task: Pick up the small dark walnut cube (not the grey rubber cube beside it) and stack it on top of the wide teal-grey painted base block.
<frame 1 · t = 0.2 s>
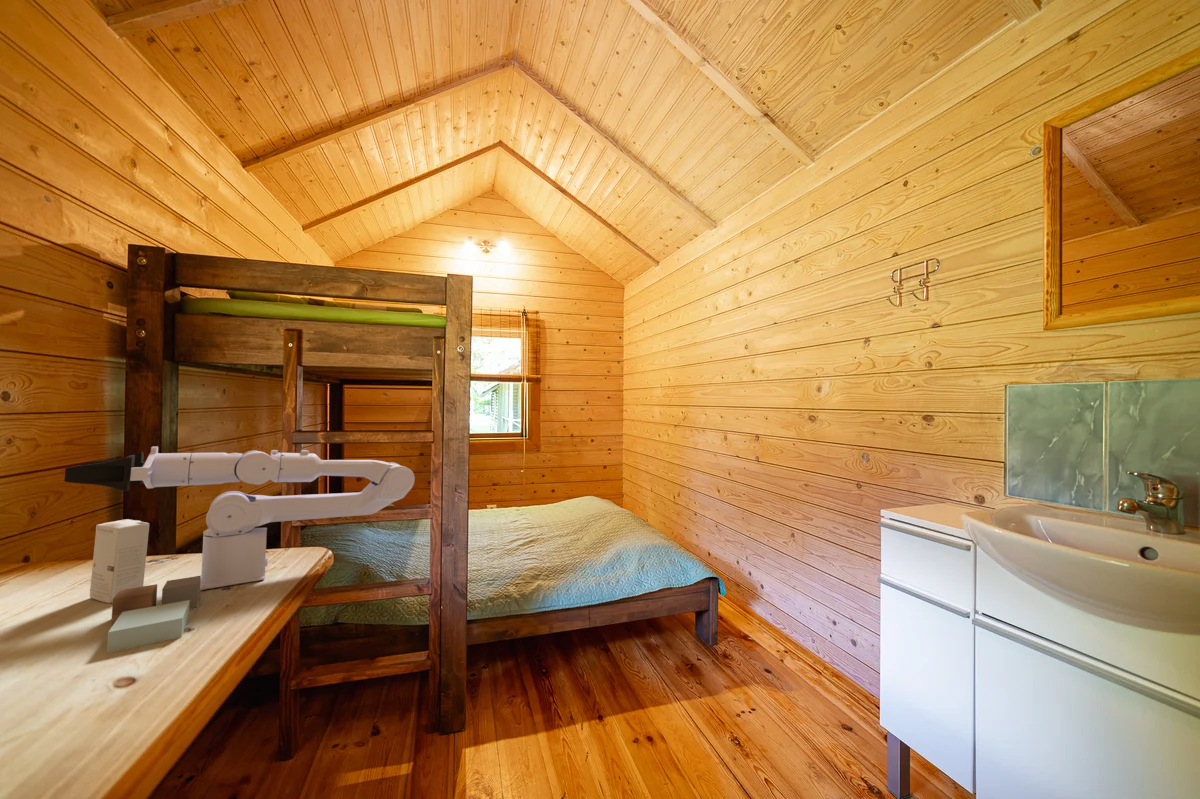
hand: (73, 472, 69), 21 cm above the table, tool horizontal, fingers open, 7 cm apart
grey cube: (181, 607, 70), on the table
skincare box: (118, 597, 73), on the table
walnut cube: (134, 618, 66), on the table
base block: (151, 636, 61), on the table
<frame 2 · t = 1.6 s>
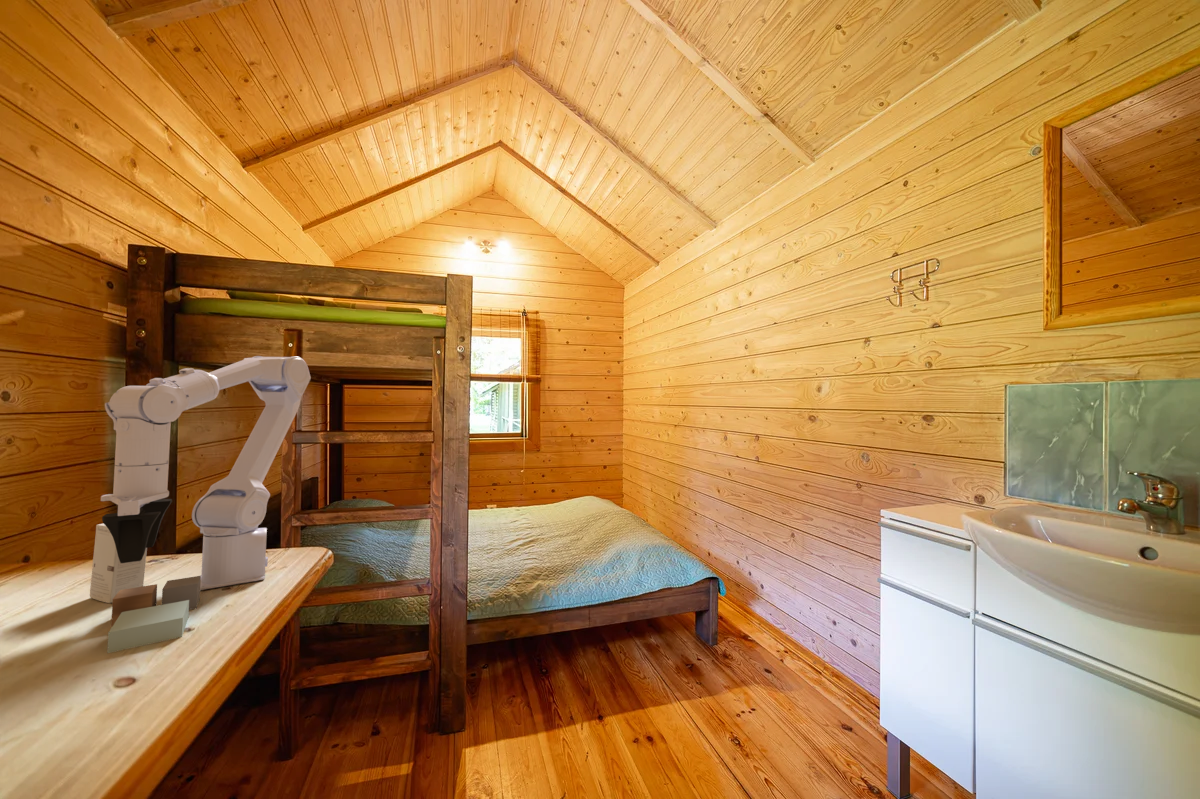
hand: (137, 554, 66), 9 cm above the table, tool pointing down, fingers open, 7 cm apart
nothing on the table moved.
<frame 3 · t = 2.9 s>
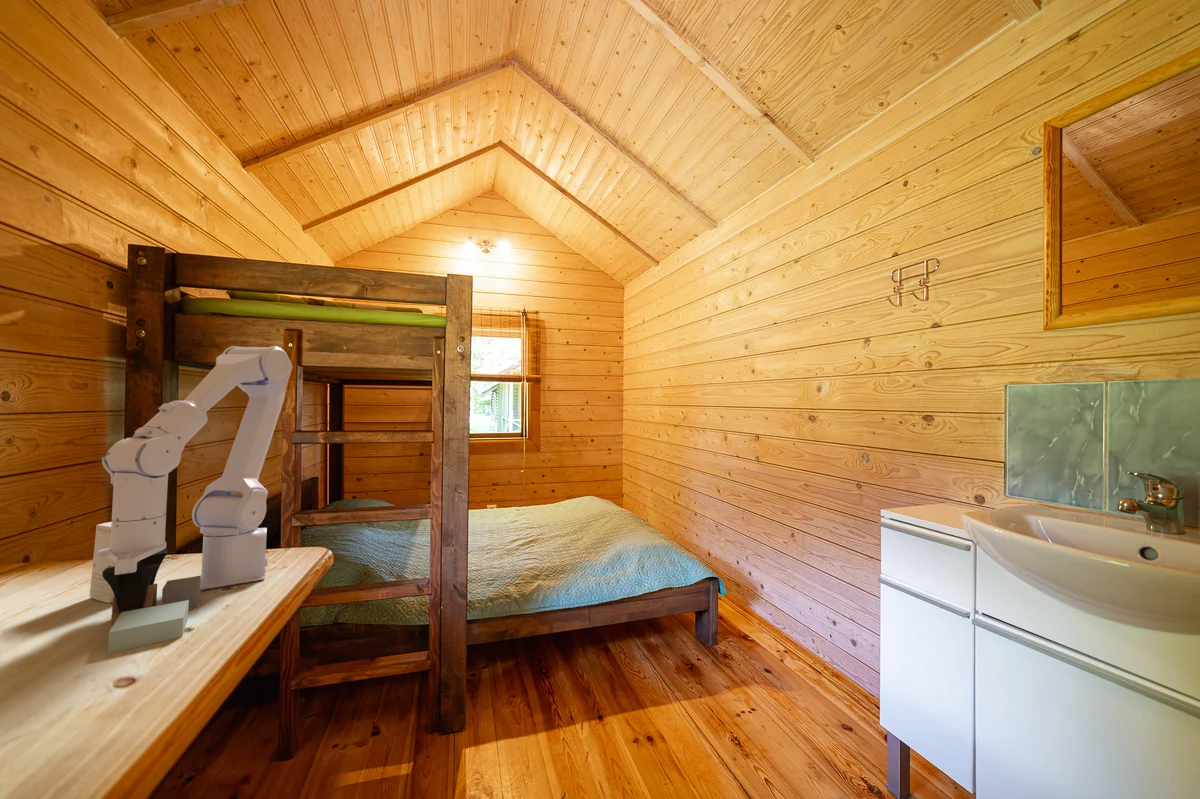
hand: (135, 607, 66), 1 cm above the table, tool pointing down, fingers closed on walnut cube, 4 cm apart
walnut cube: (134, 617, 66), on the table, touching gripper
everything else where it was.
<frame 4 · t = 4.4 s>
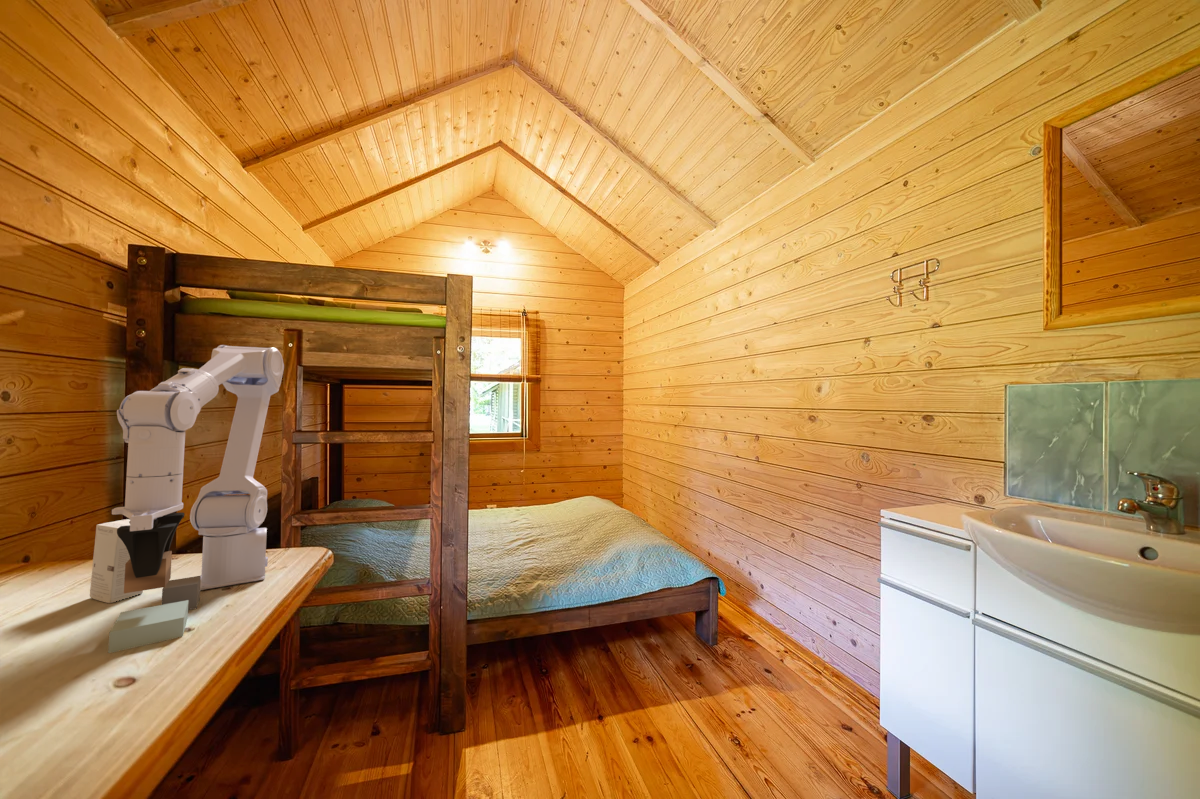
hand: (150, 570, 62), 8 cm above the table, tool pointing down, fingers closed on walnut cube, 4 cm apart
walnut cube: (148, 585, 62), point 6 cm above the table, touching gripper
everything else where it was.
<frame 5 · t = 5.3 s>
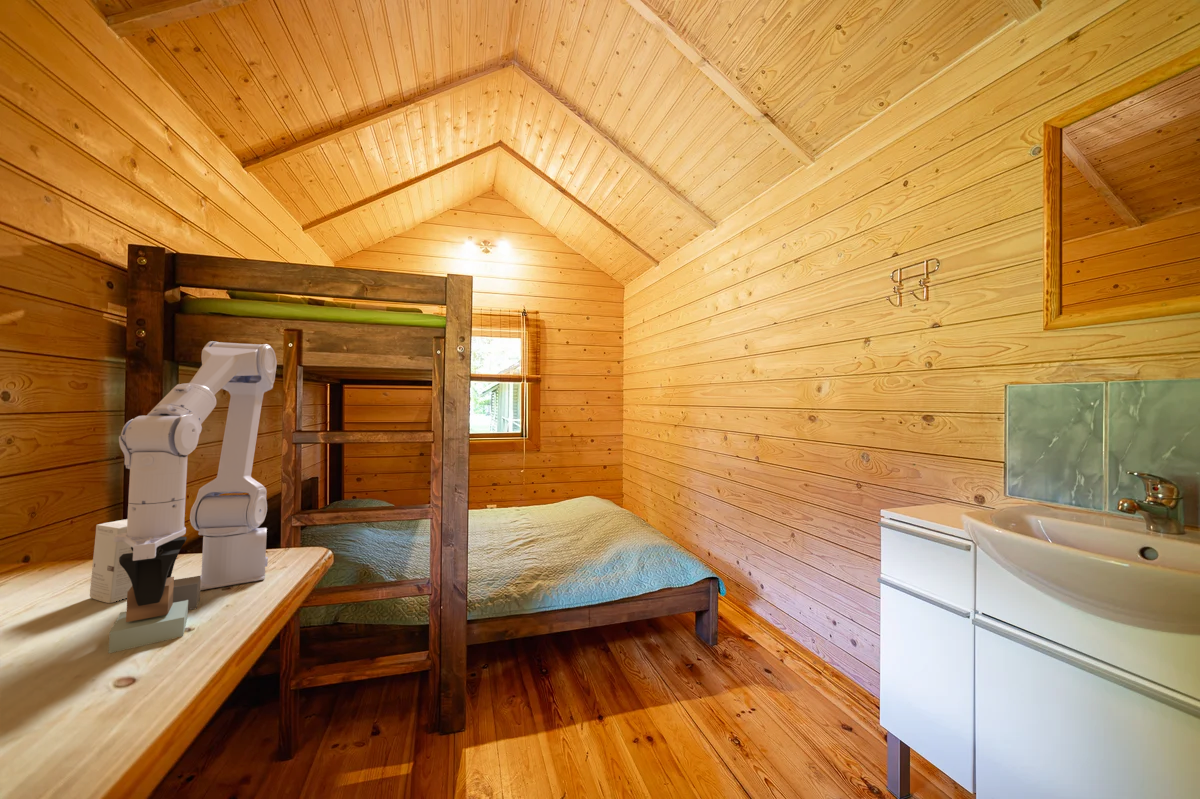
hand: (152, 597, 62), 5 cm above the table, tool pointing down, fingers closed on walnut cube, 4 cm apart
walnut cube: (150, 612, 61), point 3 cm above the table, touching gripper
everything else where it was.
when the fingers open (5 cm above the table, at t = 5.8 s): walnut cube stays where it is, resting on base block.
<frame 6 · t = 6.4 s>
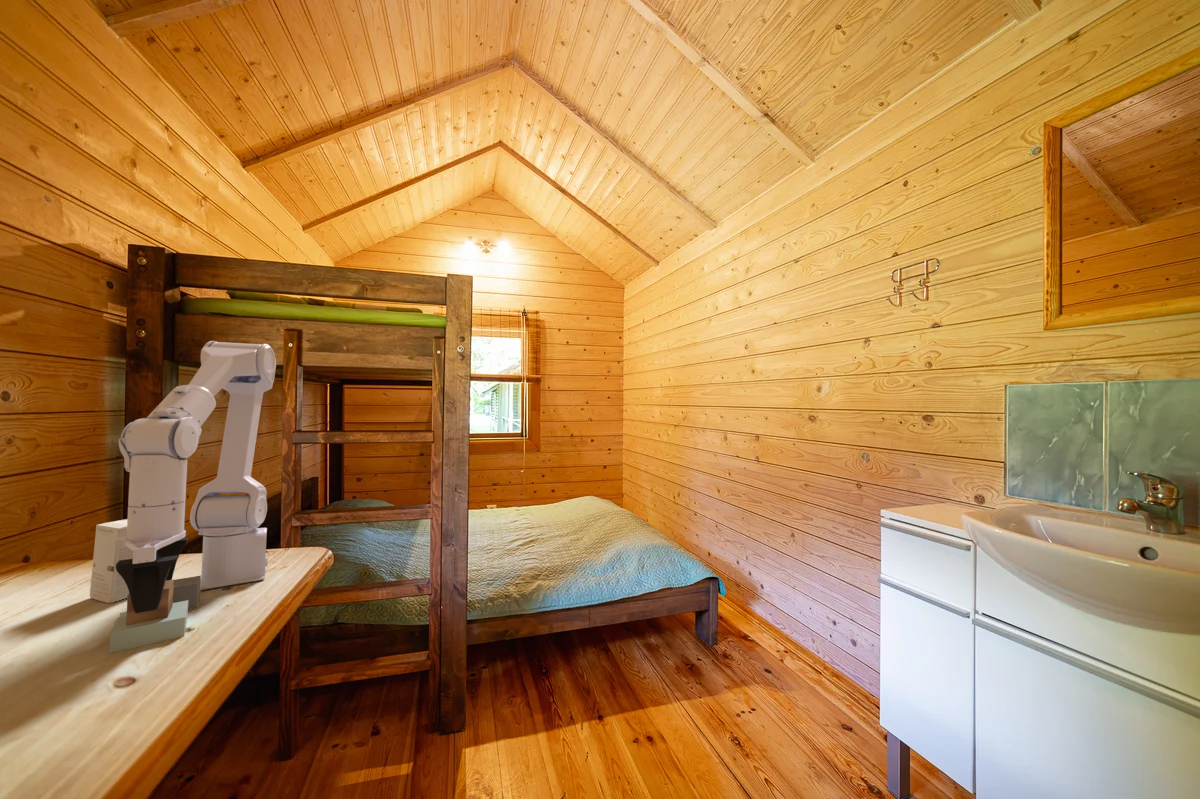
hand: (152, 600, 62), 5 cm above the table, tool pointing down, fingers open, 7 cm apart
walnut cube: (150, 615, 61), point 3 cm above the table, touching base block
base block: (151, 636, 61), on the table, touching walnut cube
everything else where it was.
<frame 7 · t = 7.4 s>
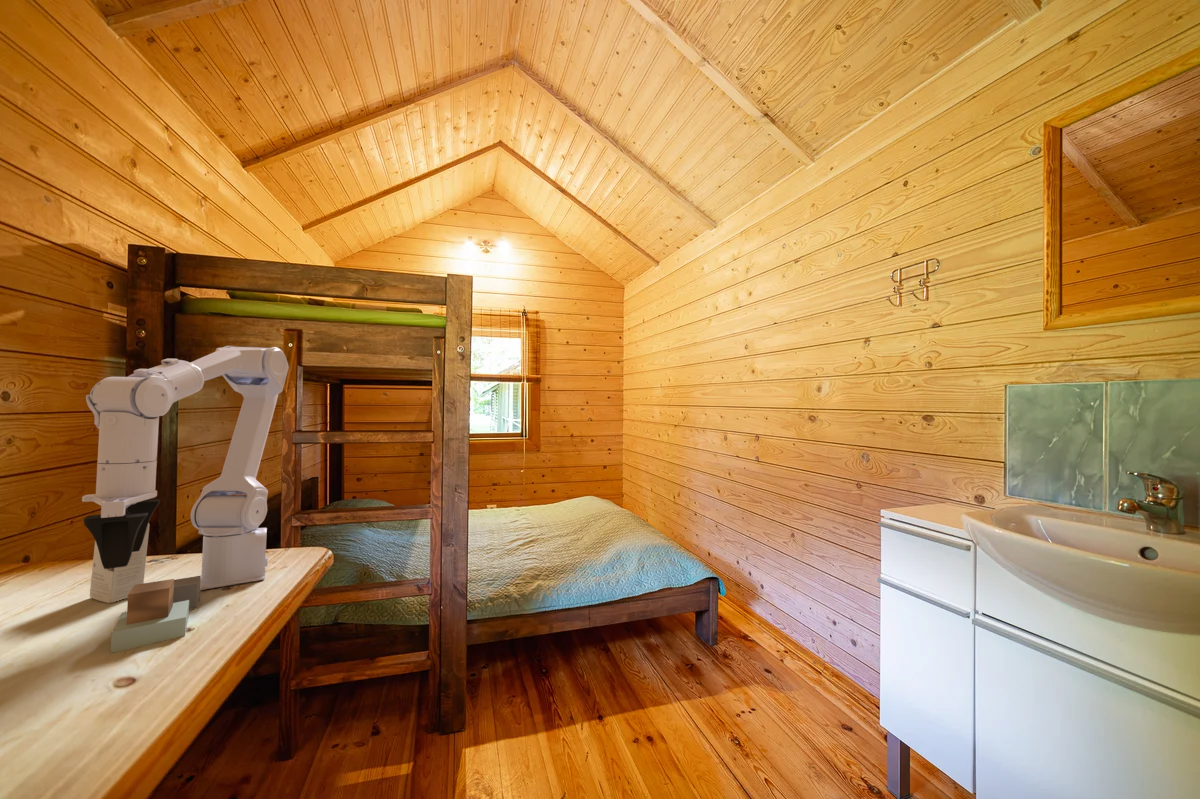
hand: (122, 559, 61), 10 cm above the table, tool pointing down, fingers open, 7 cm apart
walnut cube: (150, 615, 61), point 3 cm above the table
base block: (152, 636, 62), on the table
everything else where it was.
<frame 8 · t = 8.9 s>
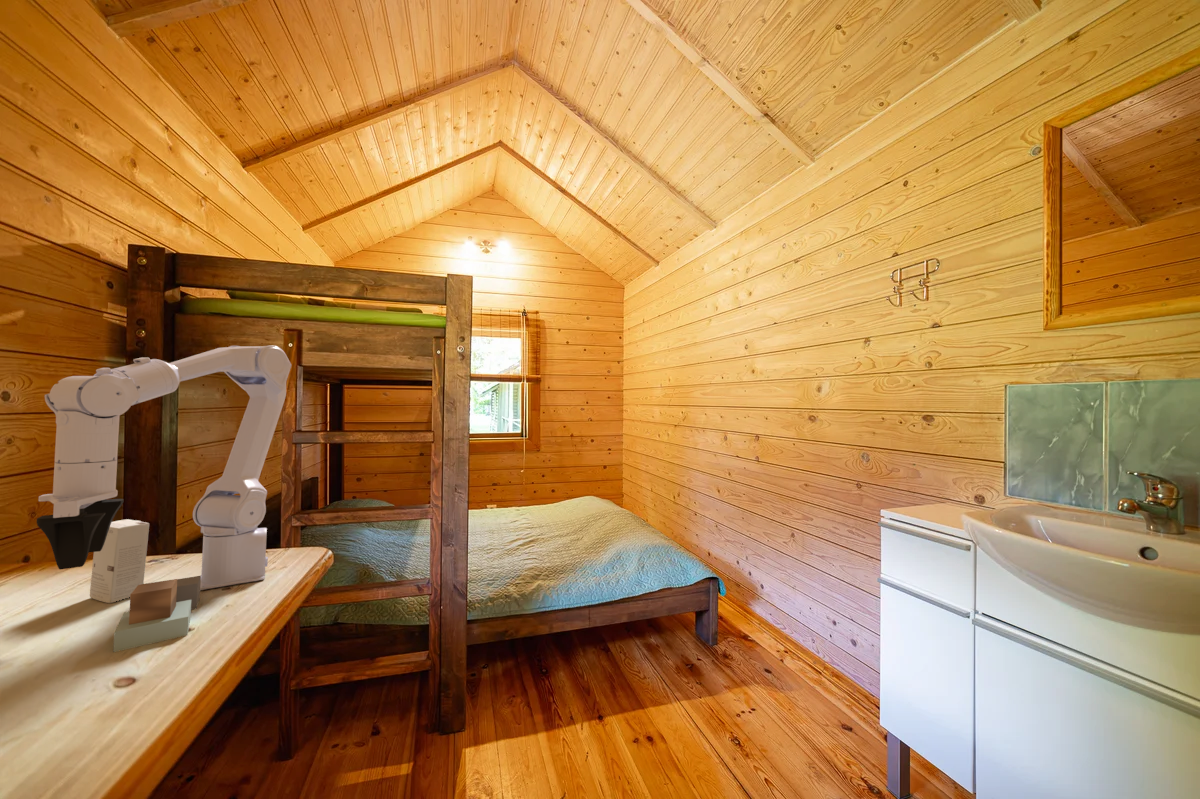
hand: (81, 559, 61), 10 cm above the table, tool pointing down, fingers open, 7 cm apart
walnut cube: (153, 615, 62), point 3 cm above the table, touching base block
base block: (154, 635, 62), on the table, touching walnut cube
everything else where it was.
at the end: walnut cube 0.1 cm off-centre on the base block, point 3.0 cm above the base block's base; walnut cube tilted 0°; the gripper is holding nothing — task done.
